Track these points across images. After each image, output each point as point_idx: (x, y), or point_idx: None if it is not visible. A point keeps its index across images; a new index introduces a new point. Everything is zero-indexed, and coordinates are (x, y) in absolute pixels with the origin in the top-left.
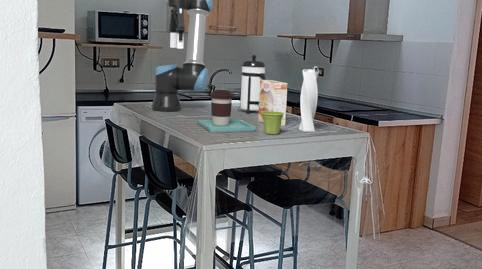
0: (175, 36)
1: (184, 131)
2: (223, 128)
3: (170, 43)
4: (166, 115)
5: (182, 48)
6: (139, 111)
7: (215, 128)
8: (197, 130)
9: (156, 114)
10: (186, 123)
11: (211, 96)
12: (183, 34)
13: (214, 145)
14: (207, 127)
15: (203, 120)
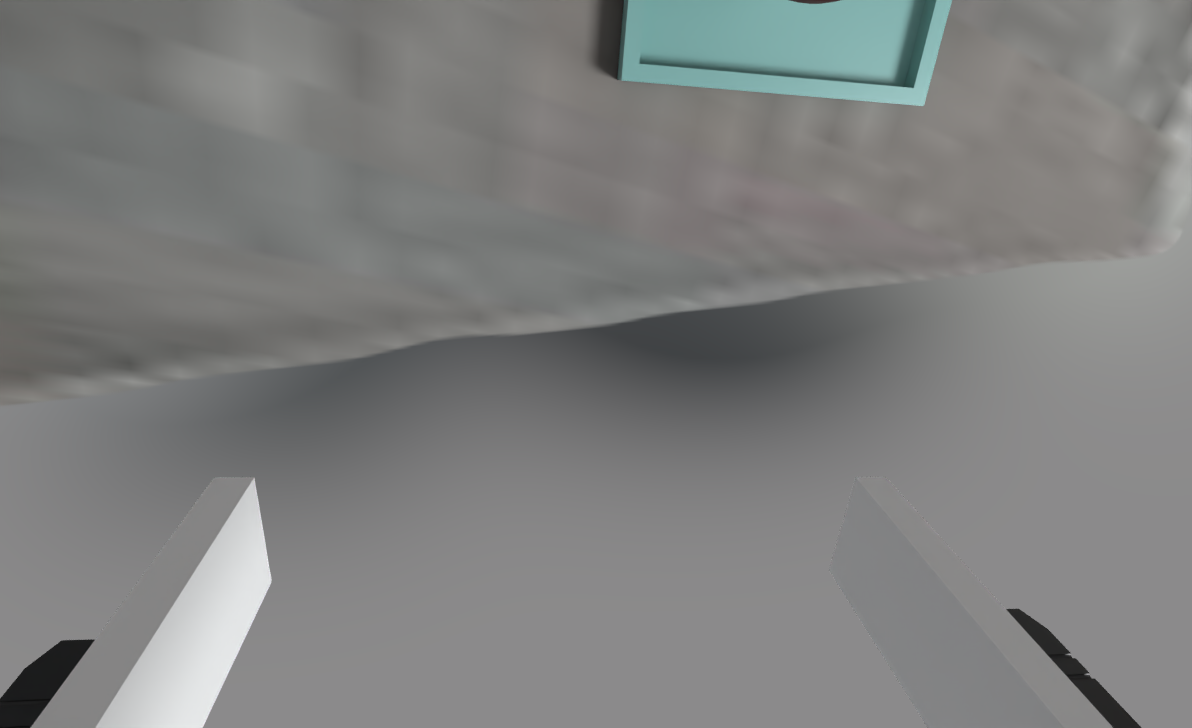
0: (128, 719)
1: (825, 243)
2: (946, 7)
3: (239, 647)
4: (206, 196)
5: (884, 491)
6: (16, 348)
7: (932, 68)
8: (823, 159)
9: (161, 259)
10: (575, 150)
11: (827, 2)
12: (1091, 709)
13: (1181, 204)
14: (862, 100)
15: (641, 38)
